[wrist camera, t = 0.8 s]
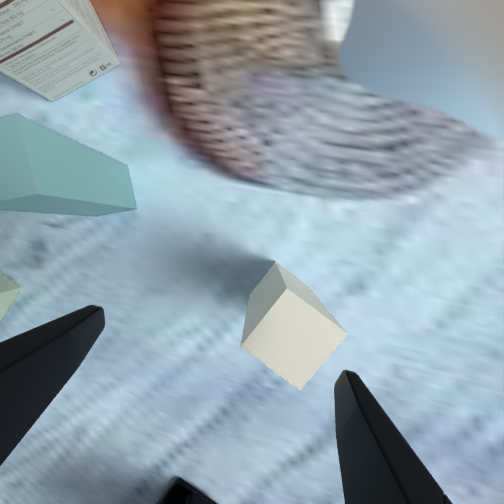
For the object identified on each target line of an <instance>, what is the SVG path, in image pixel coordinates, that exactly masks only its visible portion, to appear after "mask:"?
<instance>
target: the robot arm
mask: <svg viewBox="0 0 504 504" xmlns="http://www.w3.org/2000/svg"><path fill="white" fill-rule="evenodd" d="M104 326H105V317H104V309H103V308H102V307H99V306H96V305H89V306H86V307H84V308H82V309H79V310H77V311H74V312H72V313H70V314H67V315H65V316H62V317H60V318H58V319H55V320H53V321H50V322H48V323H46V324H43V325H41V326H38V327H36V328H34V329H31V330H29V331H26V332H24V333H22V334H19V335H17V336H14V337H12V338H10V339H7V340H5V341H2V342H0V466H1V465H2V463H3V462H4V461H5V460H6V458H7V457H8V456H9V454H10V453H11V452H12V451H13V449H14V448H15V447H16V446H17V444H18V443H19V442H20V441H21V439H22V438H23V437H24V436H25V434H26V433H27V432H28V431H29V429H30V428H31V427H32V426H33V424H34V423H35V422H36V421H37V419H38V418H39V417H40V415H41V414H42V413H43V412H44V410H45V409H46V408H47V407H48V405H49V404H50V403H51V402H52V400H53V399H54V398H55V397H56V395H57V394H58V393H59V392H60V390H61V389H62V388H63V387H64V385H65V384H66V383H67V381H68V380H69V379H70V378H71V376H72V375H73V374H74V373H75V371H76V370H77V369H78V367H79V366H80V364H81V363H82V361H83V360H84V358H85V357H86V355H87V354H88V352H89V351H90V349H91V348H92V346H93V344H94V343H95V341H96V340H97V338H98V337H99V335H100V334H101V332H102V331H103V329H104ZM334 397H335V424H336V439H337V448H338V455H339V462H340V470H341V477H342V484H343V492H344V499H345V504H452V502H451V501H450V500H449V498H448V497H447V496H446V495H445V494H444V492H443V490H442V489H441V488H440V486H439V485H438V483H437V482H436V481H435V479H434V478H433V477H432V475H431V474H430V473H429V471H428V470H427V468H426V467H425V466H424V464H423V463H422V462H421V460H420V459H419V458H418V456H417V455H416V453H415V452H414V451H413V449H412V448H411V447H410V445H409V444H408V443H407V441H406V440H405V438H404V437H403V436H402V434H401V433H400V432H399V430H398V429H397V428H396V426H395V425H394V424H393V422H392V421H391V419H390V418H389V417H388V415H387V414H386V413H385V411H384V410H383V409H382V407H381V406H380V404H379V403H378V402H377V400H376V399H375V398H374V396H373V395H372V394H371V392H370V391H369V389H368V388H367V387H366V385H365V384H364V383H363V381H362V380H361V379H360V377H359V376H358V375H357V374H356V373H355V372H353V371H349V370H343V371H342V373H341V375H340V376H339V378H338V380H337V381H336V383H335V387H334ZM157 504H215V503H214V502H212V501H211V500H210V499H208V498H207V497H205V496H204V495H203V494H201V493H200V492H198V491H197V490H196V489H194V488H193V487H191V486H190V485H189V484H187V483H186V482H184V481H183V480H181V479H177V480H176V481H175V482H174V483H173V485H172V486H171V487H170V488H169V489H168V491H167V492H166V493H165V494H164V495H163V497H162V498H161V499H160V500H159V502H158V503H157Z"/></svg>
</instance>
